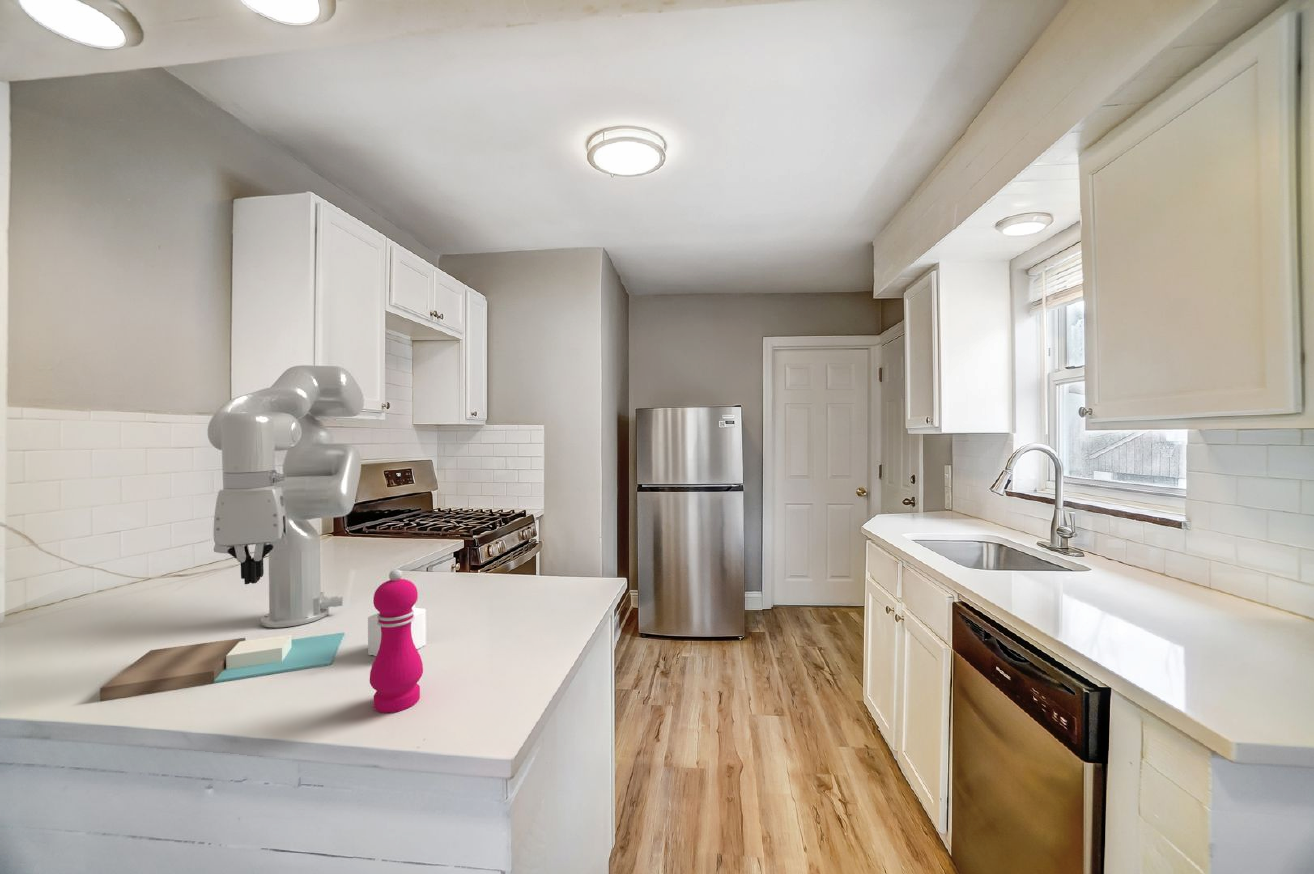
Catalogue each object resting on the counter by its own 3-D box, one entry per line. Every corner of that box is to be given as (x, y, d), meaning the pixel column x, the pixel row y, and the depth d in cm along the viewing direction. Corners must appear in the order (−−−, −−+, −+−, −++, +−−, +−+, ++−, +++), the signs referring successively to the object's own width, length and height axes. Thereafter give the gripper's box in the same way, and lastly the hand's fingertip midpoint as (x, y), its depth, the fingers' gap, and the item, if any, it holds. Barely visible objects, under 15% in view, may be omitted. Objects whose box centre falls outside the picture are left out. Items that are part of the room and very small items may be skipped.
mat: (344, 634, 108) (344, 632, 108) (331, 664, 93) (331, 662, 93) (242, 648, 101) (242, 646, 101) (210, 683, 86) (210, 681, 86)
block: (291, 647, 100) (291, 634, 100) (282, 661, 94) (282, 647, 94) (239, 654, 97) (239, 641, 97) (226, 669, 91) (226, 655, 91)
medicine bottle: (427, 645, 101) (426, 583, 101) (397, 660, 95) (396, 593, 95) (398, 641, 104) (397, 580, 104) (367, 655, 97) (366, 590, 97)
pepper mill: (382, 692, 83) (381, 564, 83) (430, 689, 83) (428, 562, 83) (360, 716, 75) (358, 576, 75) (413, 713, 76) (411, 574, 76)
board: (245, 647, 101) (245, 637, 101) (214, 682, 87) (214, 670, 87) (150, 661, 96) (150, 650, 96) (100, 700, 81) (100, 687, 81)
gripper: (303, 477, 102) (305, 571, 102) (205, 481, 96) (209, 581, 96) (294, 481, 95) (296, 582, 96) (188, 485, 89) (192, 593, 90)
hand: (252, 581), depth 96 cm, fingers closed
